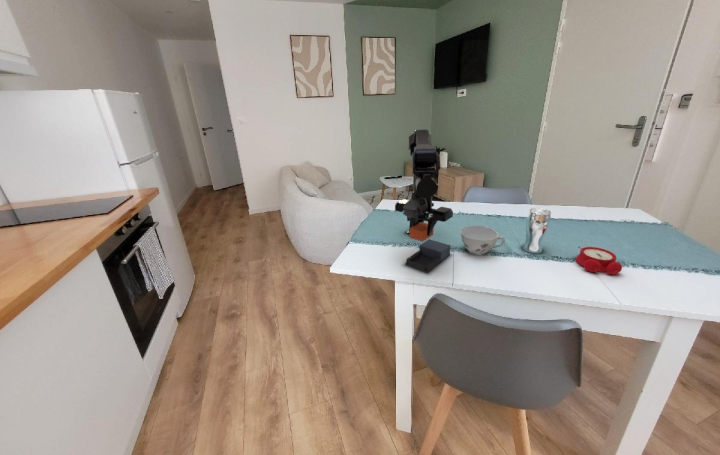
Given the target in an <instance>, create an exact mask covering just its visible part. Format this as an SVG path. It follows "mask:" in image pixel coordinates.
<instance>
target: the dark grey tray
mask: <svg viewBox="0 0 720 455" xmlns="http://www.w3.org/2000/svg"><path fill="white" fill-rule="evenodd" d="M418 248H419V249H418V251H416V252H415V253H413V254H412V255H410V256H409V257H407V258H406V259H405V260H406V261H405V263H404V265H405V266H407V267H410V268H411V269H415V270H418V271H420V272H423V273H426V274H429V273H430V272H432V271H433V270H434V269H435V268H436V267H437V266H439V265H440V264H441V263H442V262H443V261H445V260H446V259H447V258H449V256H451V248H452V245H450V244H447V243H444V242H441V241H437V240H433V239H430V238H427V239H426V240H424V241H423V242H422V243H421V244H419V246H418Z"/></svg>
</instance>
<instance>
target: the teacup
mask: <svg viewBox="0 0 720 455" xmlns="http://www.w3.org/2000/svg"><path fill="white" fill-rule="evenodd" d="M460 238H461V242H462V243H463V245H464V247H465V249H466V250H467V251H468V252H469V253H470V254H471V255H472V254H473V255H475V256H482V255H485V254H486V253H488V252H490V251H491V250H492V249H496V248H501V247H502V246H503V245H505V242H506V238H505V237H504V236H502V235H501V236H500V235H499V233H498V232H497V231H496V230H495V229H493V228H491V227H488V226H485V225H480V224H479V225H475V224H473V225H468V226H464V227H462V228H461V229H460ZM499 240H501V241H502V242H501V243H500V244H497V245H496V243H497V242H498V241H499Z"/></svg>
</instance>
